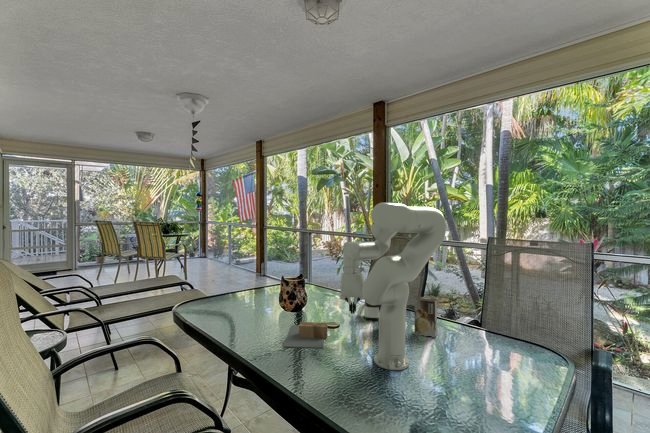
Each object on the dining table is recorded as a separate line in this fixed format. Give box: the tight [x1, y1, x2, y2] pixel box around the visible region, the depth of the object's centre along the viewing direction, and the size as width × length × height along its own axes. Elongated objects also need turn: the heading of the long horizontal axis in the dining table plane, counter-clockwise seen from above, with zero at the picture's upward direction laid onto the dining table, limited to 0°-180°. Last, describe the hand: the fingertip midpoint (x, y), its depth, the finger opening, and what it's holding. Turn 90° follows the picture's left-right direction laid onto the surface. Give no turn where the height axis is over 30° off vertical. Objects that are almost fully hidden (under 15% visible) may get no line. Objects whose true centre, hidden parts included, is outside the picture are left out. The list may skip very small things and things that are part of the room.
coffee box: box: [414, 296, 438, 338], centre depth 144 cm, size 9×6×16 cm
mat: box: [282, 324, 325, 349], centre depth 140 cm, size 24×16×1 cm, turn 177°
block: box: [299, 321, 328, 339], centre depth 140 cm, size 5×5×12 cm
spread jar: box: [356, 300, 379, 321], centre depth 166 cm, size 12×11×12 cm
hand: (352, 312), depth 138 cm, fingers closed
